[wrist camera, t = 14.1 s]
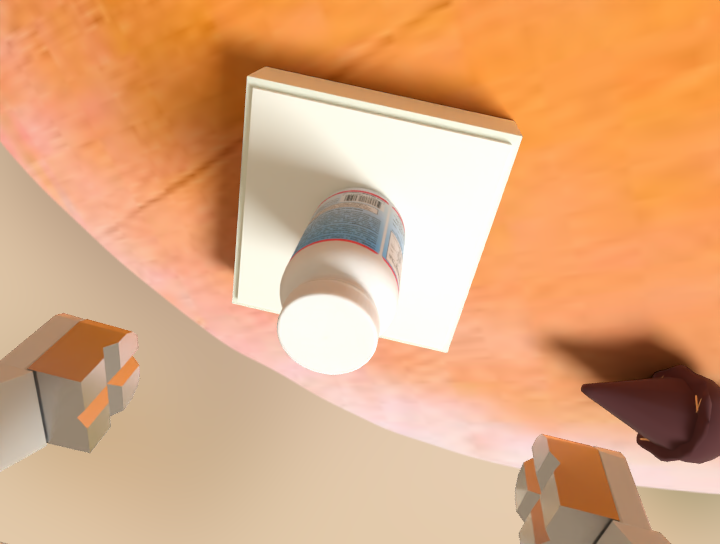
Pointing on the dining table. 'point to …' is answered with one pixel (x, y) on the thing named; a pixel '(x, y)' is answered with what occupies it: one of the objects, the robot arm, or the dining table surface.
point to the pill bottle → (342, 282)
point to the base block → (370, 188)
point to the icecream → (667, 412)
